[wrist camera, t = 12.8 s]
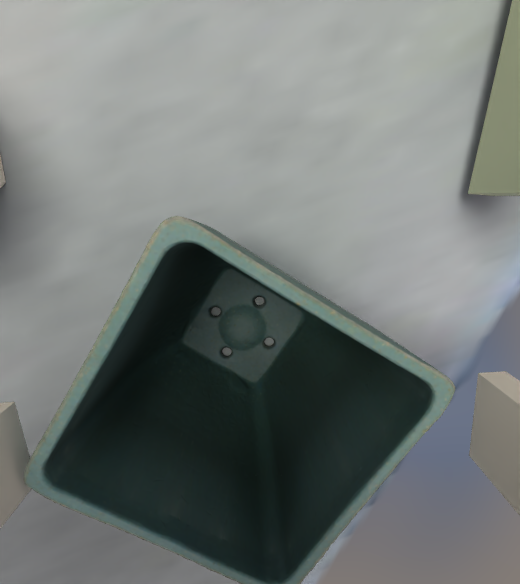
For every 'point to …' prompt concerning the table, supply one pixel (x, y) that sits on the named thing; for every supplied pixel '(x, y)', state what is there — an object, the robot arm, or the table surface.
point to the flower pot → (233, 412)
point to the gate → (502, 122)
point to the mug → (1, 174)
